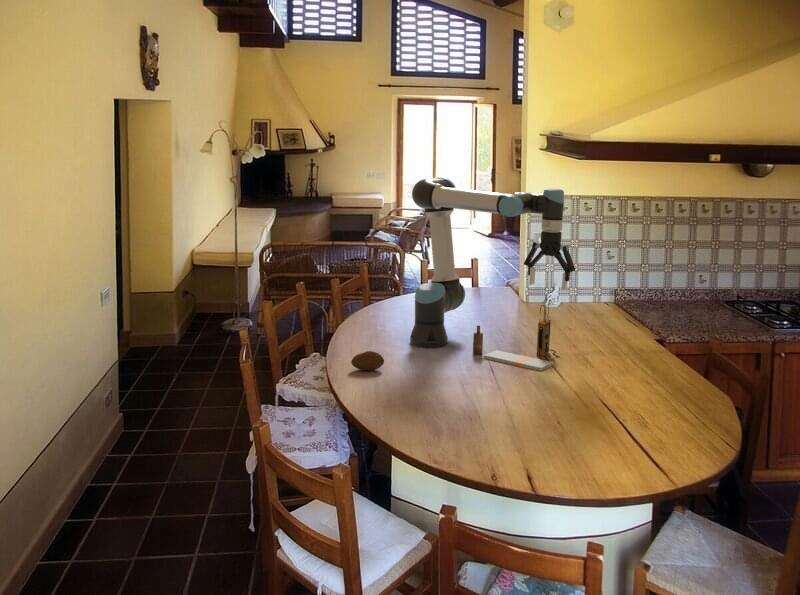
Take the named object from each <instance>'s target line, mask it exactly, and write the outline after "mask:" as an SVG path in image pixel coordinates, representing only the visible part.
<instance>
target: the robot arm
mask: <svg viewBox="0 0 800 595" xmlns="http://www.w3.org/2000/svg"><path fill="white" fill-rule="evenodd" d="M411 196H412V200H413V202H414V203H415V205H416V206H417V207H420V208H421V209H424V214H426V215H427V216H428V218H429V229H430V230H429V231H430V241H431V252H432V263H433V264H432V265H433V276H432V277H431V279H430V282H427V283H425V282H424V283H422V284H420V285H418V286H417V287H416V288H415V294H414V325H413V328H412V331H411V334H410V336H409V343H410V344H411V345H412V346H415V347H419V348H426V349H430V348H431V349H432V348H433V349H434V348H442V347H445V346H447V345H448V344H449V336H448V334H447V331H446V330H447V329H446V327H445V313H447V312H450V311H455V310H456V309H458V308H459V307H460V306H461V305H463V303H464V301H465V299H466V298H465V297H466V290H465V287H464V285H462V283H461V282H460V281H461V280H460V276H459V275H458V274H457V273H456V269H455V268H456V267H455V256H454V244H453V231H452V221H451V214H452V213H453V212H454V211H455V210H464V211H471V212H472V211H473V212H481V213H489V214H490V213H491V214H499V215H503V216H505V217H510V218H511V217H513V218H514V217H517V216H521V215H525V214H539V215H542V217H541V230H542V231H541V232H540V242H539V241H533V242H532V247H531V249H530V250H529V253H528V254H527V256H526V258H525V260H524V262H523V265H524V266H527V267H528V269H527V275H528V276H529V282H528V283H529V284H528V285H529V286H532V285H535V280H536V279H535V278H536V264H537V263H538V262H539V261H540V259H541V258H542V257H543V256H547V257H548V256H550V257H554V258H555V259H556V261H557V262H558V263H559V265H560V266H561V268H562V269H563V272H562V279H561V291H565V290H568V282H570V278H571V273H572V272H575V271H576V268H575V265H574V261H573V259H572V256H571V253H570V248H569V247H570V246H569V245H562V244H561V243H562V236H563V234H562V230H563V216H564V207H565V192H564V190H563V189H560V188H545V189H543V193H535V192H525V191H518V192H517V191H516V192H514V193H513V194H511V193H500V192H491V191H481V190H474V189H473V190H472V189H463V188H457V187H456V185H455V183H454V182H453V181H451V180H450V179H449V178H445V177H433V178H424V179H421V180H418V182H416V183H415V184H414V186H413V187H412V192H411ZM454 209H455V210H454ZM539 248H540V251H539V252H538V253H537V251H538V249H539ZM561 251H562V253H561ZM536 253H537V254H536ZM562 254H563V256H564V257H563V256H562ZM534 256H535V257H534Z"/></svg>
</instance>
